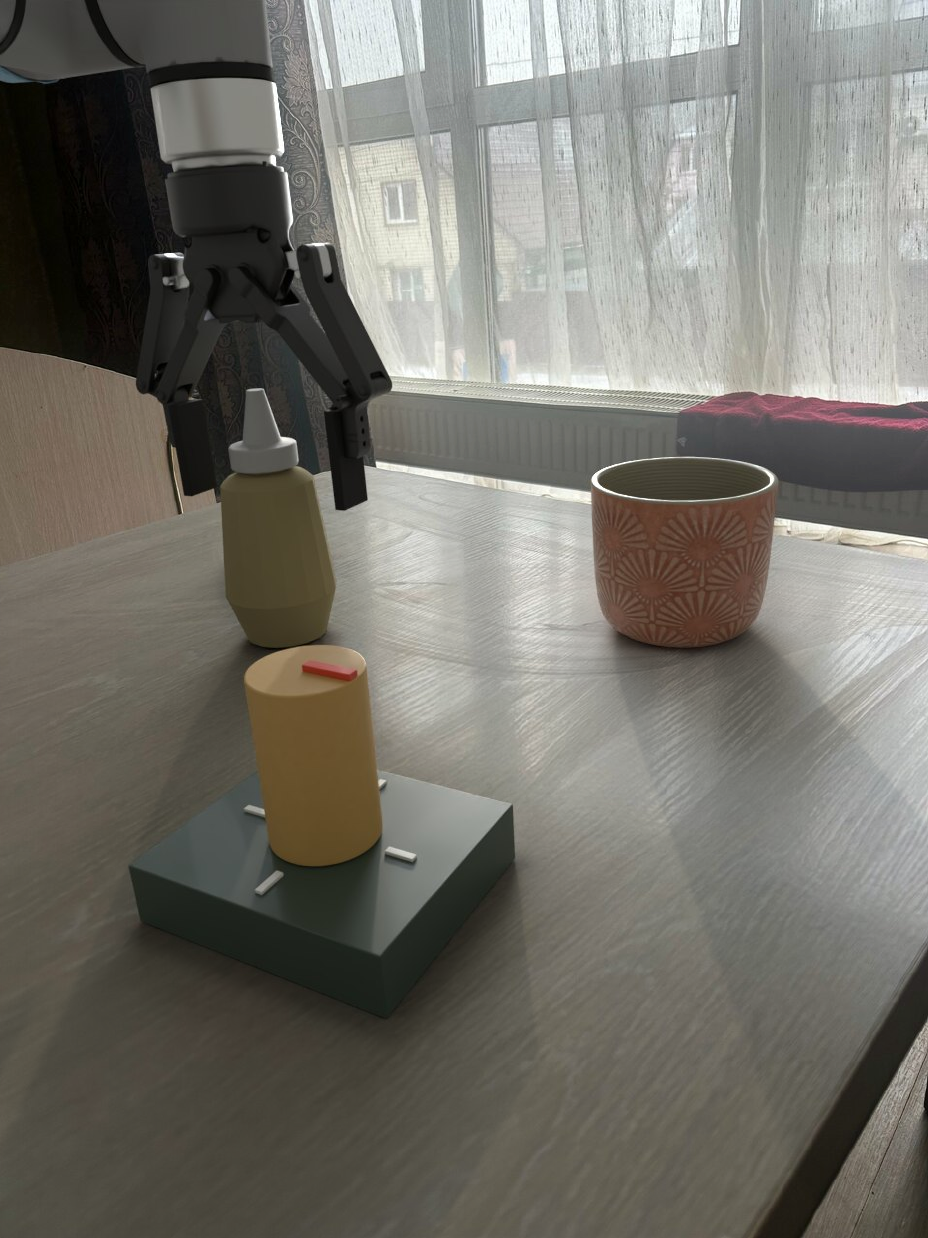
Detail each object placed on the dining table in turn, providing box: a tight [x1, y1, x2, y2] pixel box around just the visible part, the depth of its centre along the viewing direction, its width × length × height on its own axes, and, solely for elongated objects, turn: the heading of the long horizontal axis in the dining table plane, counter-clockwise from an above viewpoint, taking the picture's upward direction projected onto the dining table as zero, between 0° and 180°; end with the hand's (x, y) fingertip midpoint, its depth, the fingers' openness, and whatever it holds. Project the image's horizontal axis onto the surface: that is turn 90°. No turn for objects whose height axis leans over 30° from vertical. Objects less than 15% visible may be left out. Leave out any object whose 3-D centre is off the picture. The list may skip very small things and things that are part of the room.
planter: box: [590, 456, 779, 649], centre depth 67 cm, size 12×12×11 cm
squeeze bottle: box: [219, 387, 337, 649], centre depth 69 cm, size 8×8×18 cm
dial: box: [243, 644, 383, 866], centre depth 41 cm, size 5×5×8 cm
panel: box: [127, 769, 516, 1019], centre depth 43 cm, size 13×11×3 cm
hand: (272, 498), depth 68 cm, fingers open, 13 cm apart
